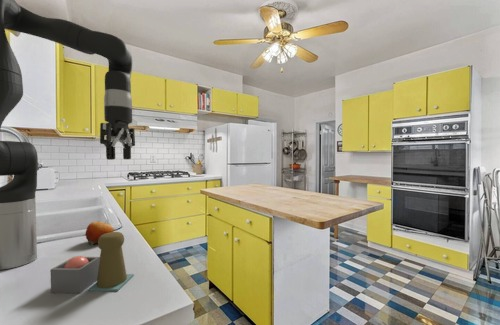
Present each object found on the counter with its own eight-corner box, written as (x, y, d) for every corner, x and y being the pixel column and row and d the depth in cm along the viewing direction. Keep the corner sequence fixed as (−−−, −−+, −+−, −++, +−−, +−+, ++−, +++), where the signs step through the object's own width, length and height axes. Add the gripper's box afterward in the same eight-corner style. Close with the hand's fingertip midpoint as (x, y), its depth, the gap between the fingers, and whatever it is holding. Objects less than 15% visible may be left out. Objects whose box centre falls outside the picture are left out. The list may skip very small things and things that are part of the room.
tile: (88, 290, 51) (88, 288, 51) (107, 275, 57) (107, 273, 57) (117, 291, 50) (117, 289, 50) (133, 275, 57) (133, 274, 57)
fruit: (74, 240, 77) (88, 217, 81) (97, 246, 83) (109, 224, 86) (85, 245, 73) (99, 220, 76) (108, 251, 78) (120, 227, 82)
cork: (132, 275, 56) (132, 229, 56) (113, 289, 50) (112, 238, 50) (111, 273, 57) (110, 228, 57) (89, 286, 51) (88, 236, 51)
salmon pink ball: (58, 285, 51) (57, 261, 51) (75, 274, 55) (74, 252, 55) (79, 285, 51) (78, 261, 50) (94, 275, 55) (93, 252, 55)
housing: (51, 292, 50) (50, 269, 50) (74, 277, 56) (74, 256, 56) (80, 293, 50) (79, 269, 50) (100, 277, 56) (100, 256, 56)
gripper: (116, 101, 65) (117, 159, 66) (141, 111, 79) (142, 159, 80) (90, 101, 65) (91, 159, 66) (120, 111, 80) (121, 159, 80)
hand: (119, 159), depth 73 cm, fingers open, 8 cm apart
